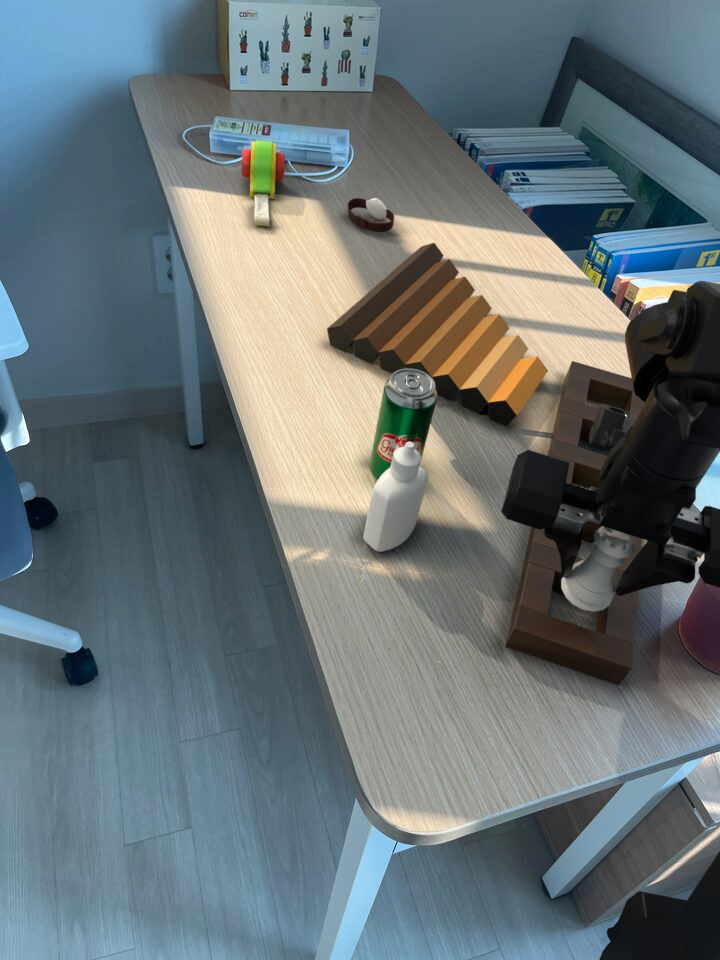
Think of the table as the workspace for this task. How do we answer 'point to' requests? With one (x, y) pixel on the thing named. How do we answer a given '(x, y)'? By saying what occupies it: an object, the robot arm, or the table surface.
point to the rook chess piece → (598, 570)
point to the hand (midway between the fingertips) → (591, 582)
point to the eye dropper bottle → (396, 500)
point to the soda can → (403, 416)
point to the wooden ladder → (541, 572)
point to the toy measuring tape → (262, 176)
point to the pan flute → (441, 336)
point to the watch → (375, 209)
